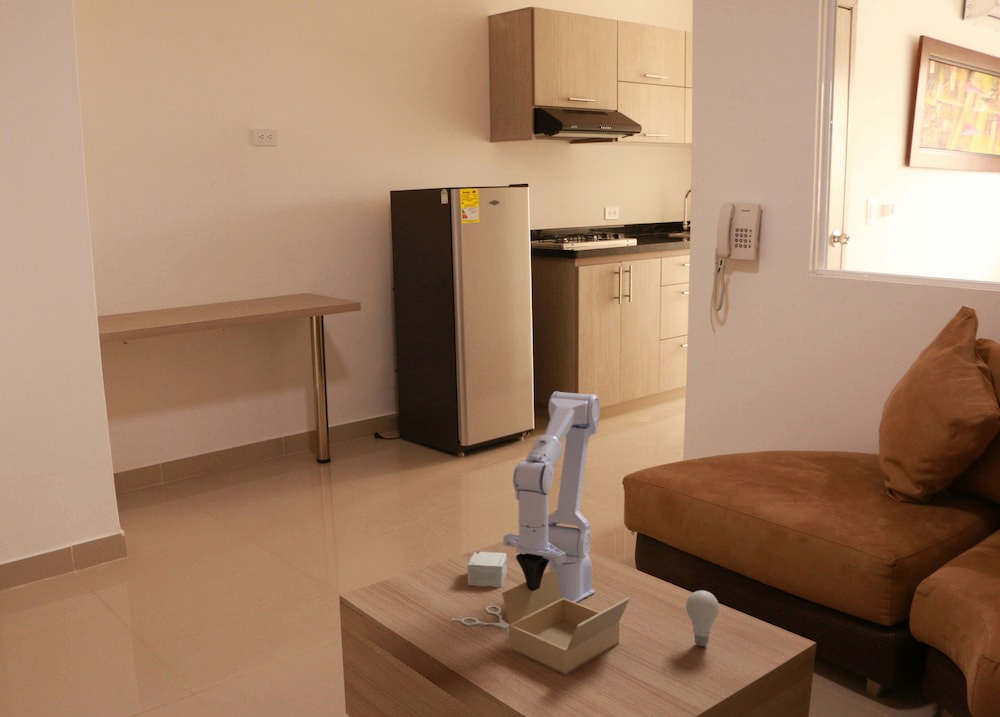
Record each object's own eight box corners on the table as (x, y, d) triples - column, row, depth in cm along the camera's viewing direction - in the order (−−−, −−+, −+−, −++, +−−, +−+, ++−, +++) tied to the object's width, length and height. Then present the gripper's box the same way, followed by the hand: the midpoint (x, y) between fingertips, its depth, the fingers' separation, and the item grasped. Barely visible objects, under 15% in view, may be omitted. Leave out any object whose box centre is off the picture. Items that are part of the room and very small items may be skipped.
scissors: (487, 601, 191) (559, 631, 177) (487, 605, 191) (559, 635, 177) (451, 619, 183) (523, 651, 169) (451, 622, 183) (523, 655, 169)
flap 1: (561, 598, 181) (560, 598, 181) (555, 568, 181) (553, 568, 181) (510, 624, 170) (508, 623, 171) (503, 593, 171) (502, 593, 171)
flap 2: (628, 597, 169) (629, 598, 168) (617, 620, 171) (619, 621, 171) (577, 624, 158) (579, 626, 158) (566, 649, 161) (568, 650, 161)
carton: (563, 620, 182) (563, 597, 181) (618, 643, 173) (619, 619, 172) (508, 649, 171) (508, 625, 170) (565, 676, 161) (565, 650, 160)
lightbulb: (678, 641, 173) (679, 588, 171) (704, 635, 175) (706, 582, 173) (697, 656, 167) (699, 601, 165) (724, 649, 170) (726, 595, 168)
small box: (502, 588, 198) (501, 566, 197) (467, 586, 199) (466, 564, 198) (507, 573, 206) (507, 552, 205) (474, 571, 207) (473, 550, 206)
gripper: (492, 518, 175) (493, 584, 177) (548, 537, 165) (548, 606, 167) (516, 509, 180) (517, 573, 182) (572, 527, 170) (572, 594, 172)
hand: (533, 588), depth 175 cm, fingers closed
